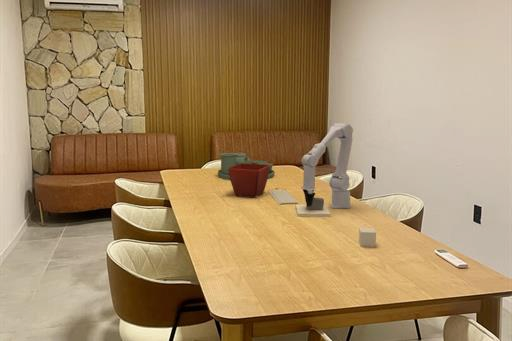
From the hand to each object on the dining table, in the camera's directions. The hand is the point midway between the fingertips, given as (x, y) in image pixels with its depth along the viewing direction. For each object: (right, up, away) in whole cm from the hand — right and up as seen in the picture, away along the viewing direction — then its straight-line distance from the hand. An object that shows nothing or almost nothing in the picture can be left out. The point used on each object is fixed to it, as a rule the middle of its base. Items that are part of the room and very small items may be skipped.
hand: (308, 204), depth 248 cm
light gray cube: (+19, -13, -49) cm, 54 cm away
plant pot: (-31, +3, +38) cm, 49 cm away
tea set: (-34, +13, +97) cm, 103 cm away
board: (+2, -4, +1) cm, 4 cm away
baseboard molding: (-12, +1, +31) cm, 33 cm away
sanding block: (+3, -2, 0) cm, 3 cm away
